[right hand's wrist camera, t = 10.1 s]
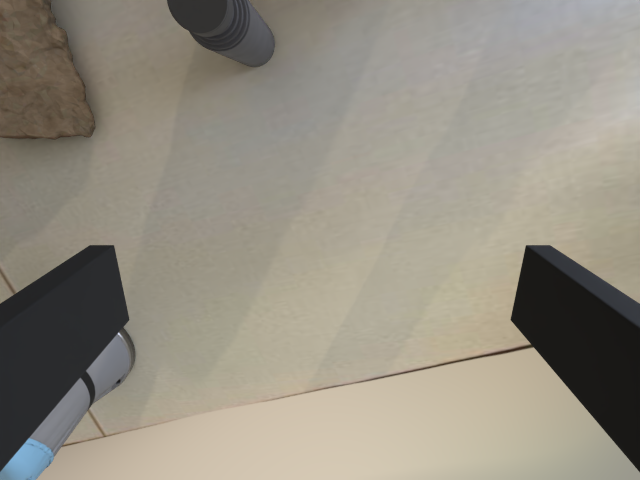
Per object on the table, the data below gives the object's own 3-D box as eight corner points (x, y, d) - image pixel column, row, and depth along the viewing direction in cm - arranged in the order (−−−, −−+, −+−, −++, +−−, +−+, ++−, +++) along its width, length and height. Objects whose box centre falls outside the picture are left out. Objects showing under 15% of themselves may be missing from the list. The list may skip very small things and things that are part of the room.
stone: (-106, -63, 40) (-153, -76, 35) (51, -63, 43) (29, -74, 38) (-11, 138, 50) (-37, 151, 45) (109, 128, 53) (98, 139, 48)
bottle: (246, 75, 48) (189, 58, 27) (223, 33, 46) (143, -18, 25) (282, 52, 47) (253, 18, 26) (260, 9, 45) (208, -65, 24)
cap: (198, 48, 28) (190, 45, 26) (164, -9, 26) (154, -15, 25) (244, 17, 27) (239, 12, 25) (212, -42, 26) (204, -51, 24)
